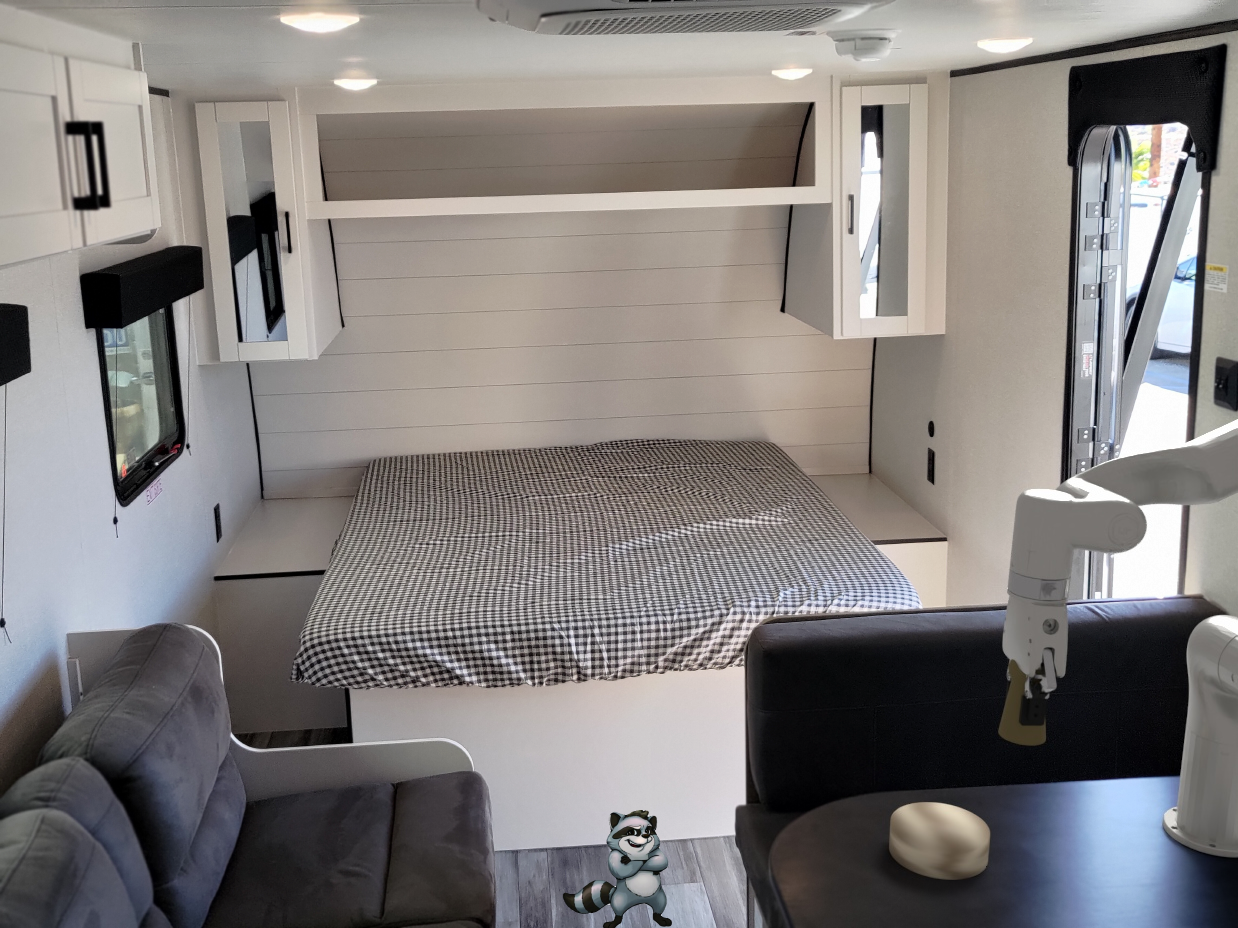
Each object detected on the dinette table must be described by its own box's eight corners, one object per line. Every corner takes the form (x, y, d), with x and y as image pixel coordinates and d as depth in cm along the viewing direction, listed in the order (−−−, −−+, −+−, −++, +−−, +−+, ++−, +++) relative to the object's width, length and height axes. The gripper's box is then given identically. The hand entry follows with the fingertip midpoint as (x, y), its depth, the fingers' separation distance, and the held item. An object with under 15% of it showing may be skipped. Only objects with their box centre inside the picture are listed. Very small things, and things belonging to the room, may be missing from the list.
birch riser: (968, 826, 163) (970, 800, 163) (1002, 878, 151) (1005, 850, 150) (877, 828, 163) (879, 802, 162) (904, 880, 150) (906, 852, 149)
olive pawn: (1039, 727, 156) (1048, 650, 154) (1051, 746, 150) (1060, 667, 148) (993, 724, 157) (1001, 647, 155) (1003, 743, 151) (1012, 664, 149)
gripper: (1096, 606, 141) (1079, 745, 145) (1040, 566, 158) (1026, 692, 162) (1036, 605, 141) (1021, 744, 145) (986, 565, 157) (973, 691, 161)
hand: (1024, 715), depth 153 cm, fingers closed on olive pawn, 4 cm apart
